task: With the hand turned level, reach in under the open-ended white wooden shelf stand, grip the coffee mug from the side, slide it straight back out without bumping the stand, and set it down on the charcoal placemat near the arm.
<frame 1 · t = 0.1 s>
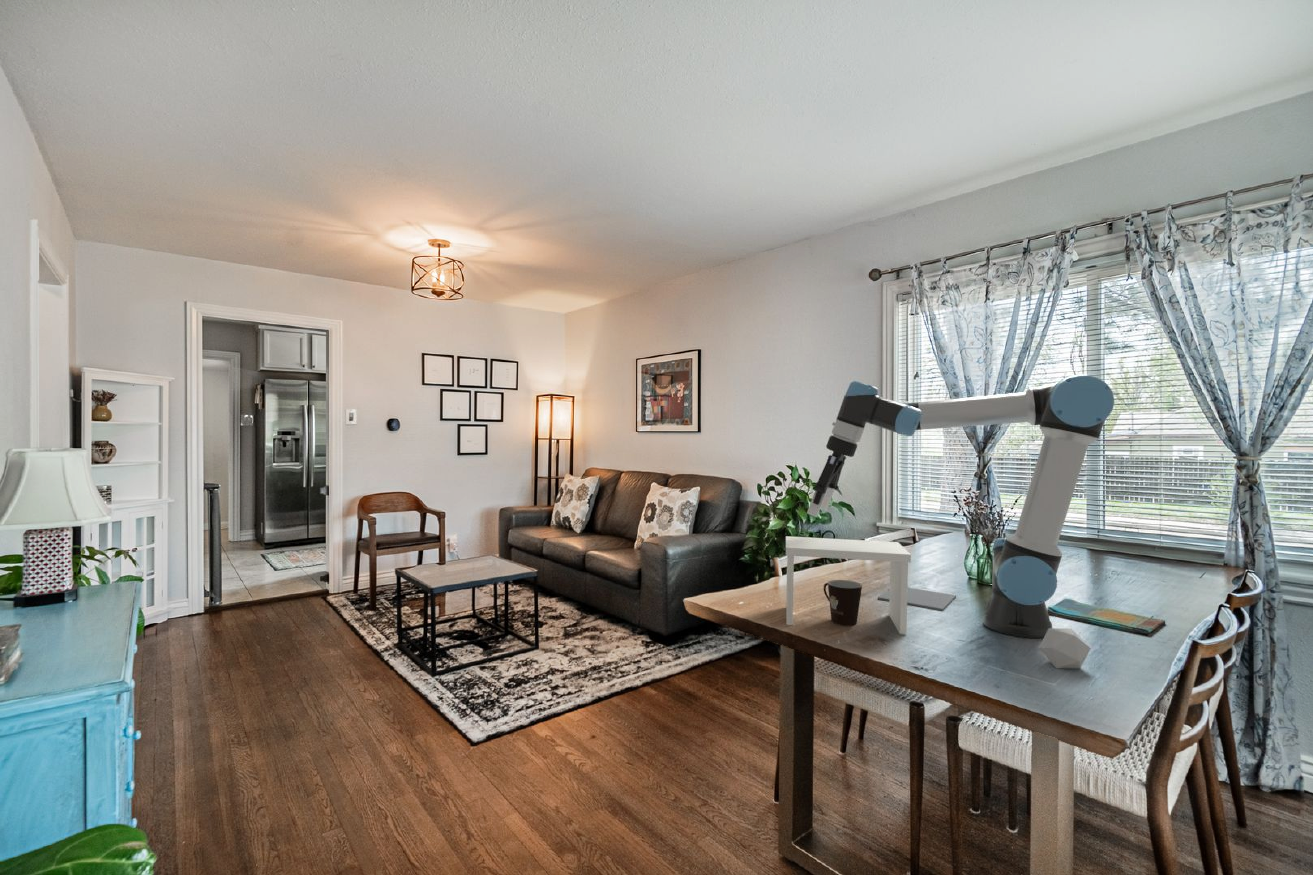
hand: (816, 512, 165), 28 cm above the table, tool tilted 20°, fingers open, 13 cm apart
coffee mug: (842, 620, 161), on the table
shelf stand: (842, 619, 161), on the table
dish towel: (1103, 621, 166), on the table
placemat: (917, 598, 183), on the table
die: (1063, 666, 132), on the table
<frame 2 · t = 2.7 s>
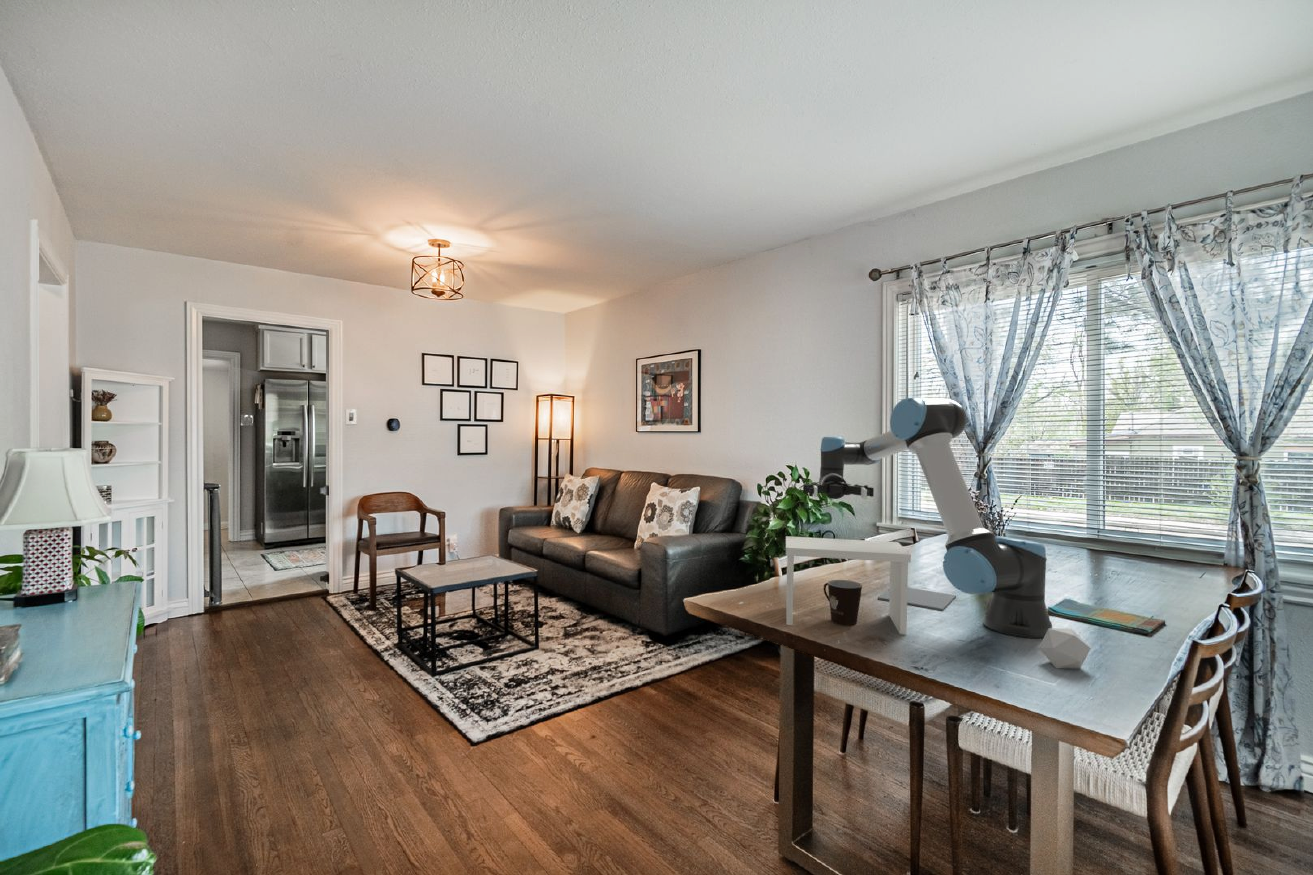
hand: (840, 493, 173), 32 cm above the table, tool horizontal, fingers open, 13 cm apart
nothing on the table moved.
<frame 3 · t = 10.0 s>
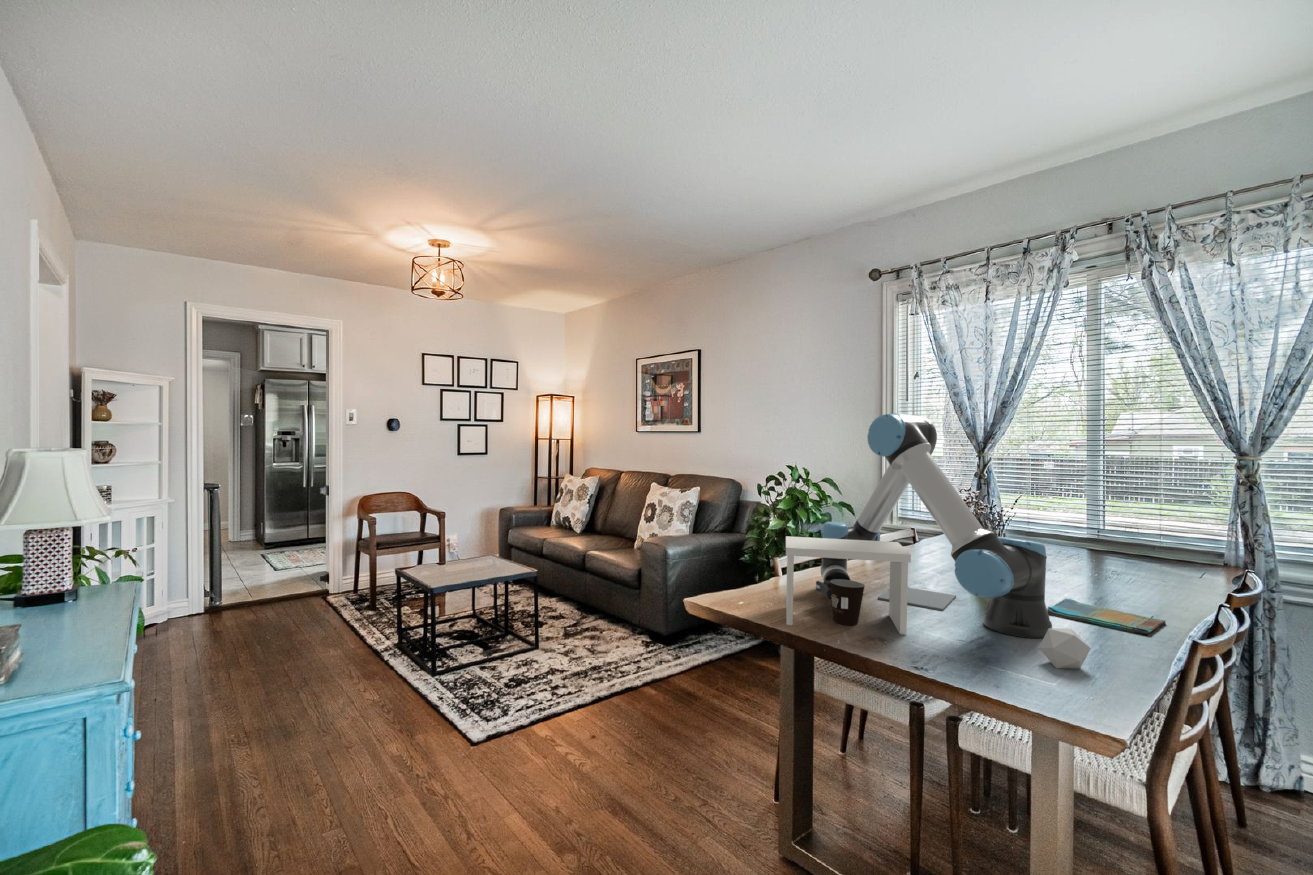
hand: (844, 603, 155), 6 cm above the table, tool horizontal, fingers closed
coffee mug: (844, 620, 161), on the table, touching gripper
everything else where it was.
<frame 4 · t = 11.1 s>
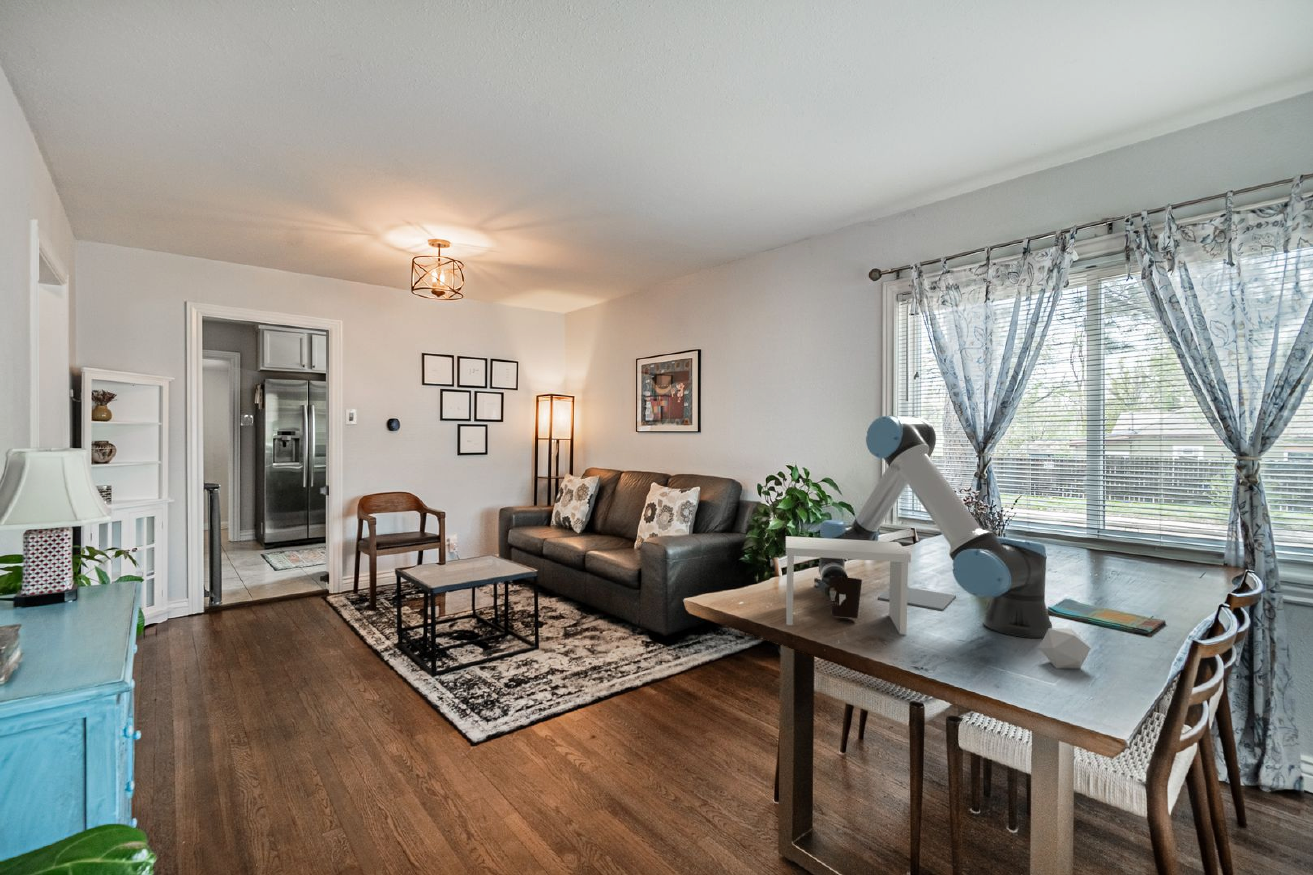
hand: (842, 599, 158), 6 cm above the table, tool horizontal, fingers closed
coffee mug: (844, 618, 161), on the table
everything else where it was.
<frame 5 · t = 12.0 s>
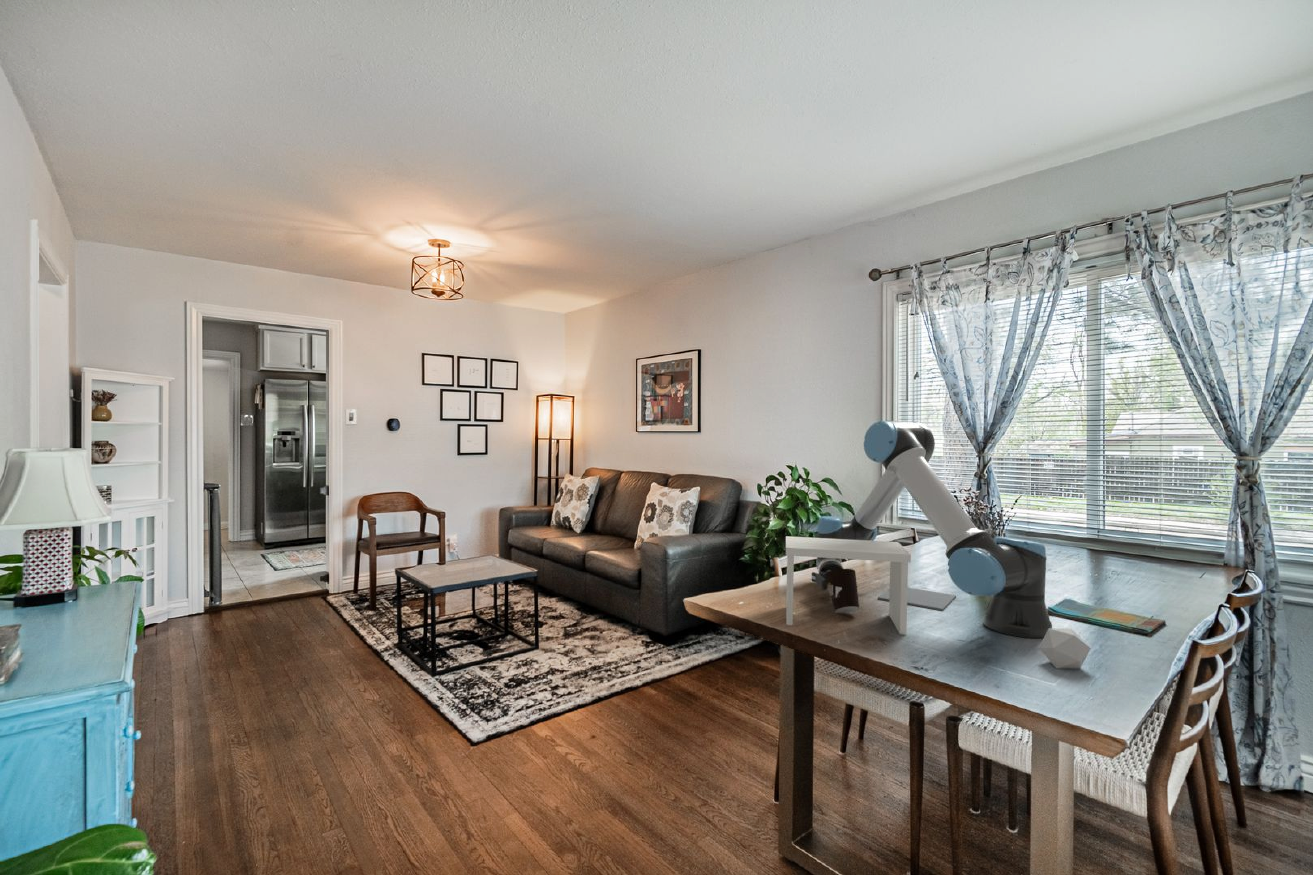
hand: (838, 592, 164), 6 cm above the table, tool horizontal, fingers closed
coffee mug: (847, 611, 165), point 1 cm above the table, touching hand
everything else where it was.
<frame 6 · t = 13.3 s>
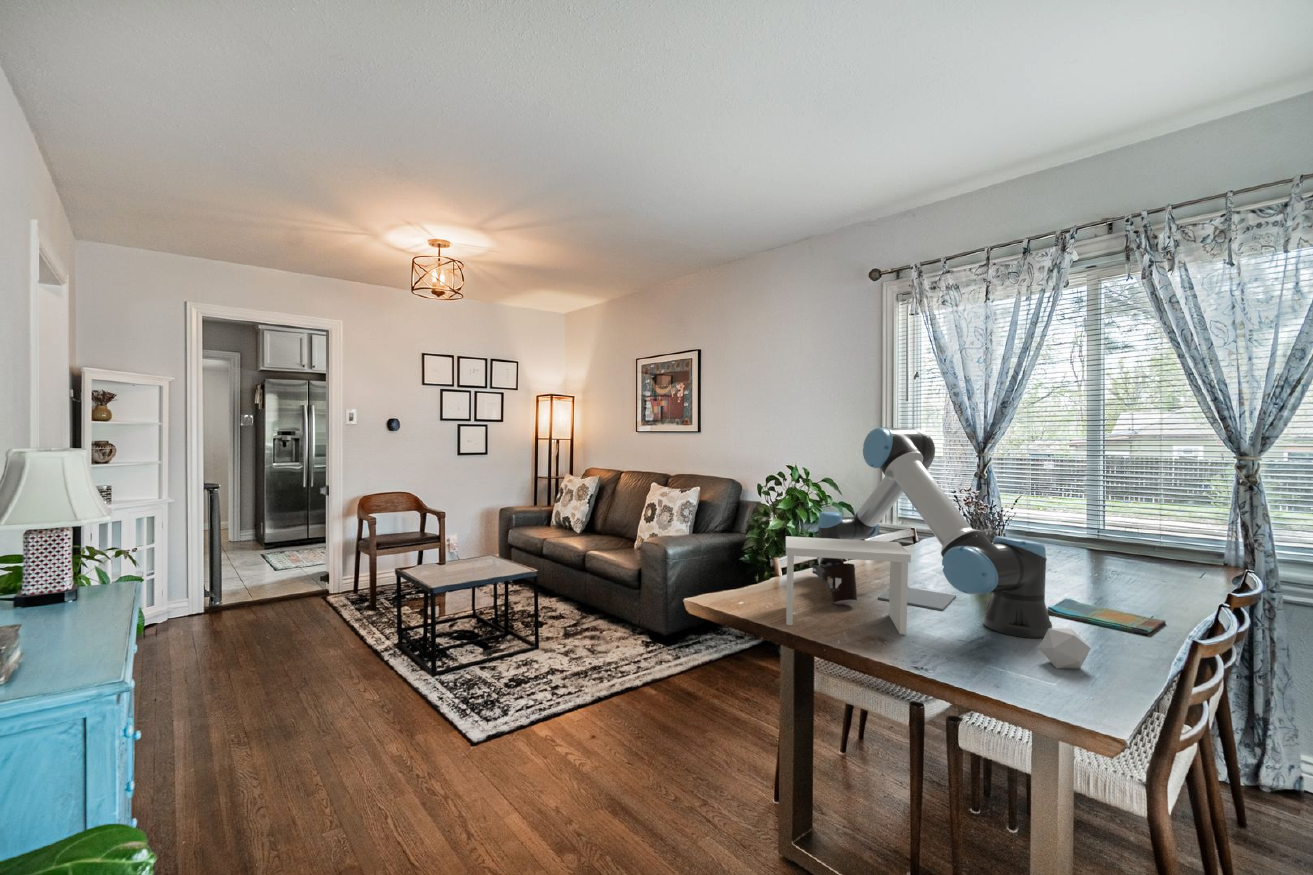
hand: (838, 583, 172), 7 cm above the table, tool horizontal, fingers closed
coffee mug: (845, 603, 174), point 1 cm above the table, touching gripper, hand
everything else where it was.
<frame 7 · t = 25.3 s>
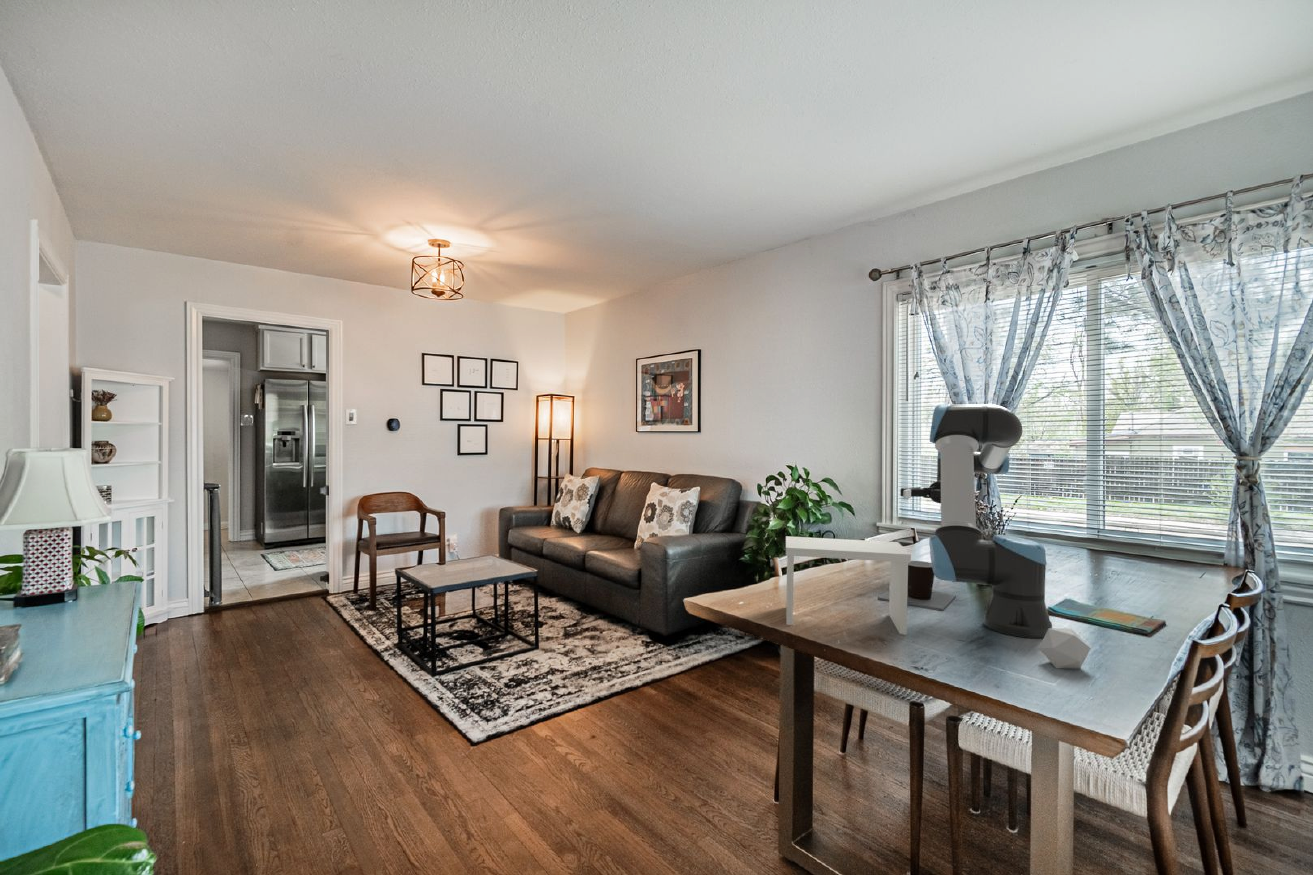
hand: (927, 496, 190), 30 cm above the table, tool horizontal, fingers open, 13 cm apart
coffee mug: (921, 596, 183), resting on placemat
everything else where it was.
at the end: coffee mug inside the target area on the placemat (1.3 cm from its centre), point 0.4 cm above the placemat's base; coffee mug tilted 0°; the gripper is holding nothing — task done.
